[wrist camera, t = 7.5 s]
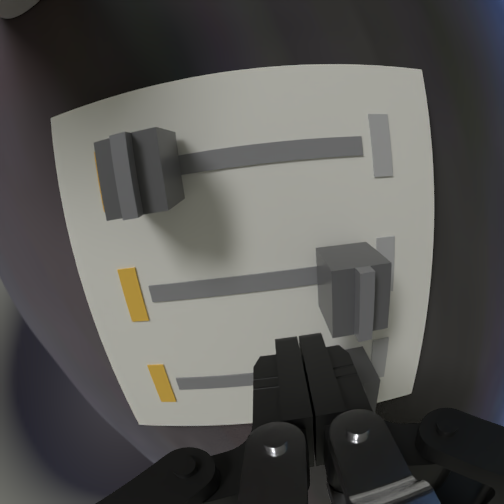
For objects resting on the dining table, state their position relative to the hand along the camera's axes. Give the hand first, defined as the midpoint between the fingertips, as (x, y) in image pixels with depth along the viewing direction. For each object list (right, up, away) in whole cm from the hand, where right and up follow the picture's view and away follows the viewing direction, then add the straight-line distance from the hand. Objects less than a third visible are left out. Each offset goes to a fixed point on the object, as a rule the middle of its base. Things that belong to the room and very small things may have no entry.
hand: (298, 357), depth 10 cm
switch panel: (-1, +3, +7) cm, 8 cm away
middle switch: (+3, +2, +5) cm, 6 cm away
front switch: (-6, +7, +3) cm, 10 cm away
